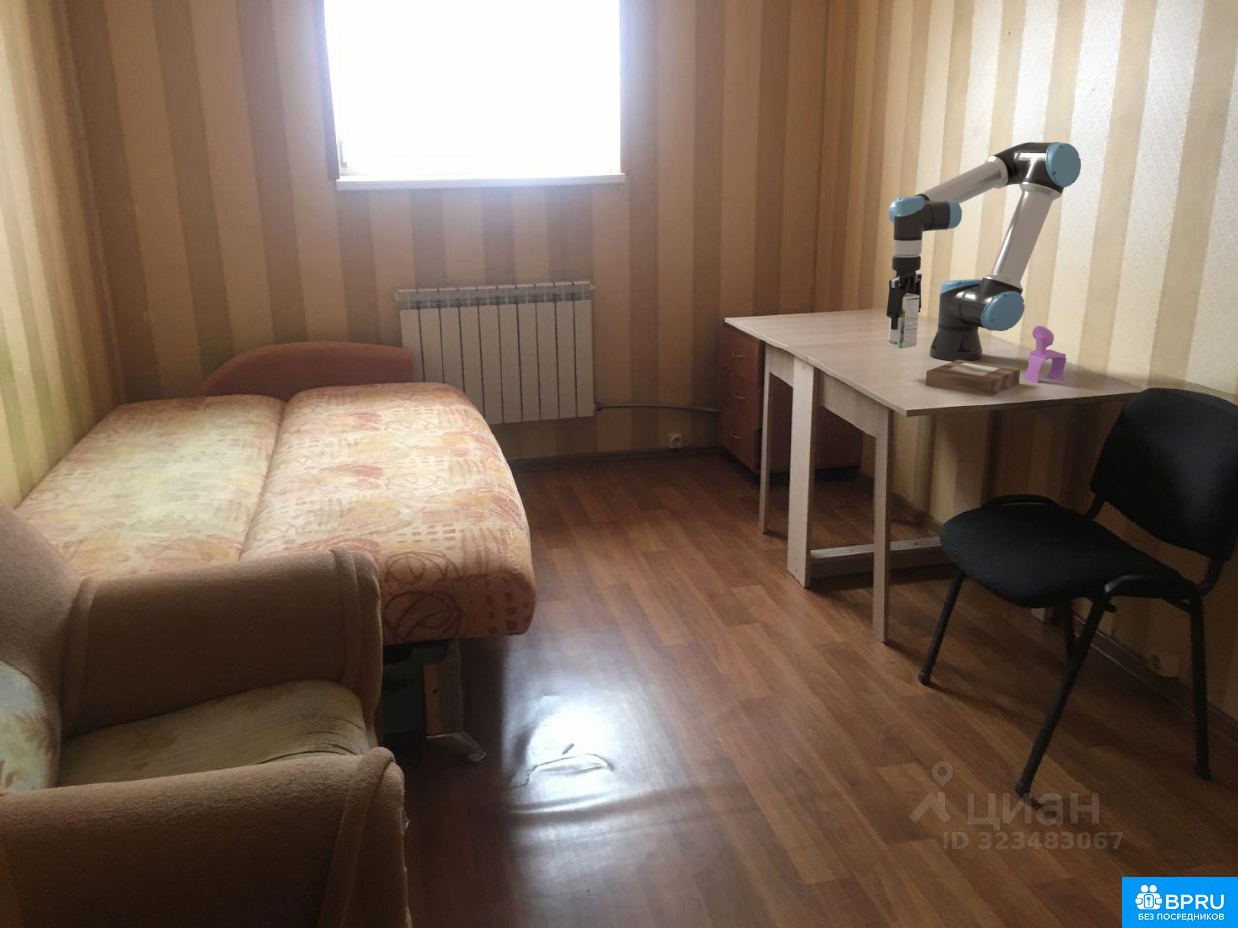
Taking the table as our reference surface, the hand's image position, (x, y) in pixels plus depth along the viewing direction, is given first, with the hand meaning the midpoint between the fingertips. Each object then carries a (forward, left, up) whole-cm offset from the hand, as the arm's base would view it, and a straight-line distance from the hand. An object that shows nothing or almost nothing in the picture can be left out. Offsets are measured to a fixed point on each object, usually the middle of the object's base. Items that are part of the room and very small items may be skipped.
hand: (902, 338), depth 282 cm
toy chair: (-21, +32, -11) cm, 40 cm away
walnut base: (-3, +20, -11) cm, 23 cm away
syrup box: (0, 0, -2) cm, 2 cm away
